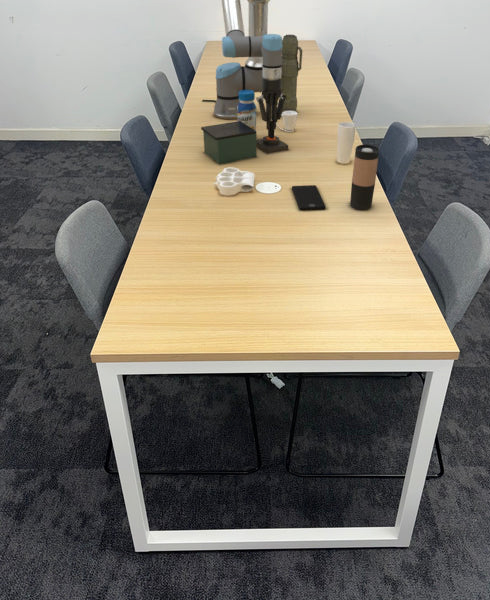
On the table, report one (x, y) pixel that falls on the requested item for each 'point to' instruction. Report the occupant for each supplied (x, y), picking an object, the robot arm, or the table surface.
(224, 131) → the box lid
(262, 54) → the robot arm
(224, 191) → the white holed block
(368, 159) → the travel mug
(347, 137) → the drinking glass
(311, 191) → the cell phone
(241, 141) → the green box
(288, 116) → the cup
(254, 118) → the beverage bottle
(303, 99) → the table surface
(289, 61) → the thermos
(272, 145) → the control pad
